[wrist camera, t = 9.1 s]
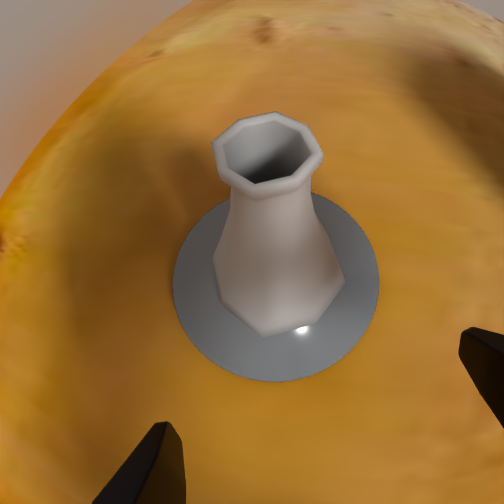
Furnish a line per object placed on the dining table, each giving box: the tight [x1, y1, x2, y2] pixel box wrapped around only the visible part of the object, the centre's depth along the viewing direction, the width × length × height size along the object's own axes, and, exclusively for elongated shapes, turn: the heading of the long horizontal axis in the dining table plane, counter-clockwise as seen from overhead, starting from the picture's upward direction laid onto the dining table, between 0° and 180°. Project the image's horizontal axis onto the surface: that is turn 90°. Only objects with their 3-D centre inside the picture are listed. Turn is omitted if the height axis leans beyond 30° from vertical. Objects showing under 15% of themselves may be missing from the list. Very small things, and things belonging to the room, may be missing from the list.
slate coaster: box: [173, 192, 379, 382], centre depth 18 cm, size 12×12×1 cm
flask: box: [211, 111, 346, 338], centre depth 13 cm, size 7×7×10 cm
